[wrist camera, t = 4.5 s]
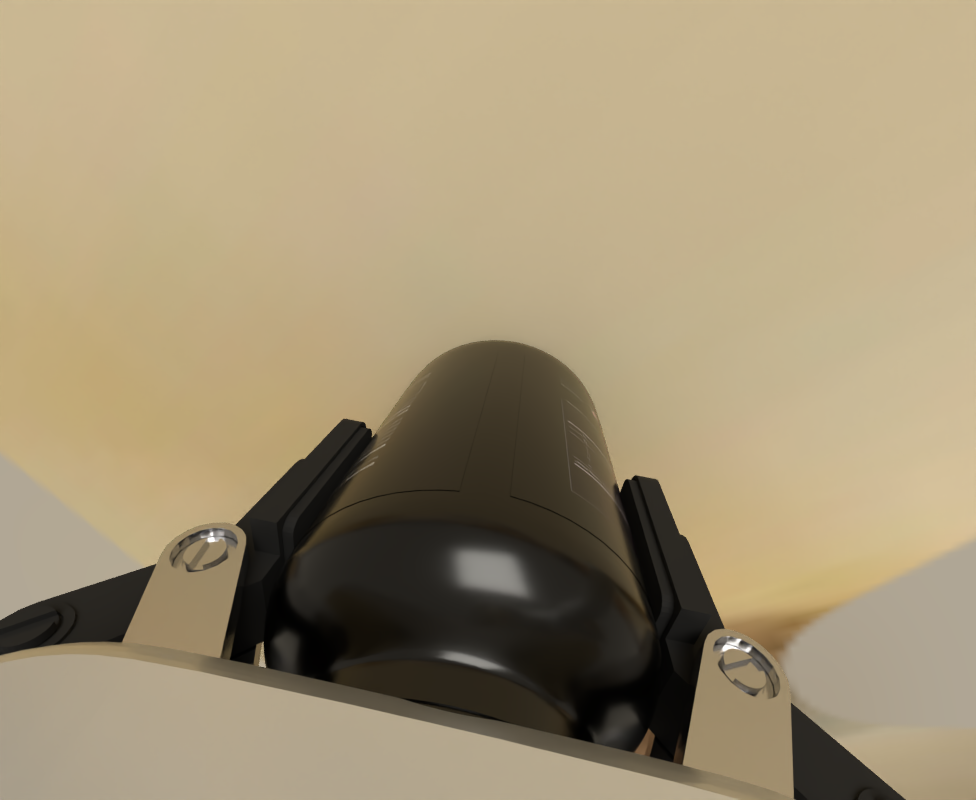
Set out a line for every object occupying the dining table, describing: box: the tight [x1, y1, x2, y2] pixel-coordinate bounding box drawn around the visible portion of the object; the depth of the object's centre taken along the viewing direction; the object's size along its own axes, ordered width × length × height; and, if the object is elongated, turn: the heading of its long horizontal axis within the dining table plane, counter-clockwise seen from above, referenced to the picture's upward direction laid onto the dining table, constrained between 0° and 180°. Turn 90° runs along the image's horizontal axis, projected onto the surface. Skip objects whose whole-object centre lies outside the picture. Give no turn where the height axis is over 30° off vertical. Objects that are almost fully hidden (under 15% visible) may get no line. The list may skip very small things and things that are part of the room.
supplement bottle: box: [264, 340, 662, 753], centre depth 9 cm, size 7×7×12 cm
